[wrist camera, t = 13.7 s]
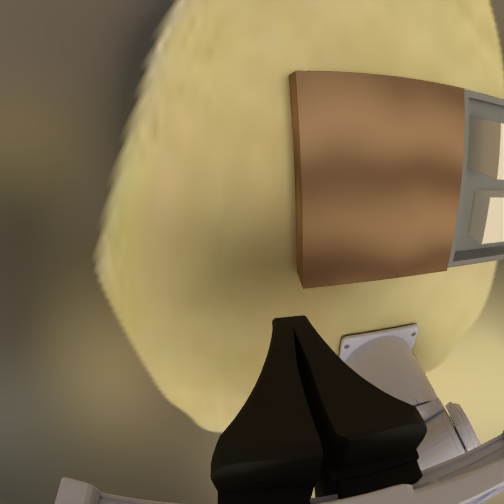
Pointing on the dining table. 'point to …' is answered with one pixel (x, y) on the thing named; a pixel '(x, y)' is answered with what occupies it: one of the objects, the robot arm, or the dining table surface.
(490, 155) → the tile
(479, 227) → the tile
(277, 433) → the robot arm
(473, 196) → the tray
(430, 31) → the dining table surface
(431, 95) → the plate
